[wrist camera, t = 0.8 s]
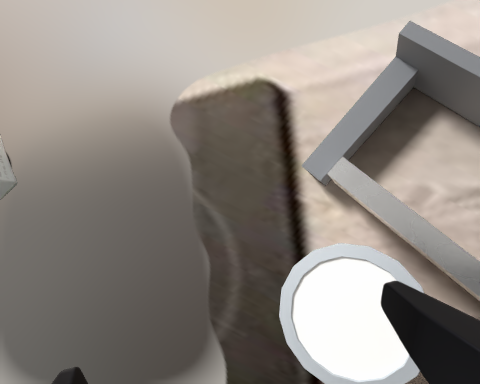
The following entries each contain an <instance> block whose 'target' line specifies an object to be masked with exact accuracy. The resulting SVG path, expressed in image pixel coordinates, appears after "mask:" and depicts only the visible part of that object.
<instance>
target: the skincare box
mask: <svg viewBox="0 0 480 384" xmlns="http://www.w3.org/2000/svg"><path fill="white" fill-rule="evenodd" d="M16 184H17V180H16V178H15V176H14V173H13V171H12V168H11V165H10V163H9V160H8V157H7V155H6V152H5V149H4V145H3V142H2V138H1V135H0V200H1V199H2V198H3V197H4V196H5V195H6V194H8V193H9V192H10V191H11V190H12V189H13V188H14V187H15V185H16Z"/></svg>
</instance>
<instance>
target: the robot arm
mask: <svg viewBox="0 0 480 384" xmlns="http://www.w3.org/2000/svg"><path fill="white" fill-rule="evenodd" d="M381 307H382V309H383V311H384V313H385V315H386V316H387V318H388V320H389V322H390V323H391V325H392V327H393V329H394V330H395V332H396V334H397V335H398V337H399V339H400V341H401V342H402V344H403V346H404V347H405V349H406V351H407V352H408V354H409V356H410V357H411V359H412V360H413V361H414V363H415V364H416V366H417V367H418V369H419V370H420V371H421V373H422V374H423V376H424V377H425V378H426V380H427V381H428V383H429V384H480V320H478V319H476V318H474V317H471V316H469V315H467V314H465V313H463V312H461V311H459V310H457V309H455V308H453V307H451V306H449V305H447V304H445V303H443V302H441V301H439V300H437V299H435V298H433V297H430V296H428V295H426V294H424V293H422V292H420V291H418V290H416V289H414V288H412V287H410V286H408V285H406V284H404V283H402V282H400V281H391V282H387V283H385V284H384V285H383V290H382V296H381ZM52 384H88V382H87V381H86V379H85V377H84V375H83V373H82V371H81V369H80V368H79V367H73V368H69V369H65V370H63V371H61V372H60V373H59V374H58V375H57V377H56V378H55V380H54V381H53V383H52Z"/></svg>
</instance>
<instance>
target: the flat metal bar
mask: <svg viewBox="0 0 480 384" xmlns="http://www.w3.org/2000/svg"><path fill="white" fill-rule="evenodd" d="M327 174H328V175H329V177H330V178H331V179H332V180H333V182H334V183H335V184H336V185H337V186H338V187H340V188H341V189H342V190H343V191H345V192H346V193H347V194H348V195H349V196H351V197H352V198H353V199H354V200H356V201H357V202H358V203H359V204H361V205H362V206H363V207H364V208H365V209H367V210H368V211H369V212H370V213H372V214H373V215H374V216H375V217H377V218H378V219H379V220H380V221H381V222H383V223H384V224H385V225H386V226H388V227H389V228H390V229H391V230H393V231H394V232H395V233H396V234H397V235H399V236H400V237H401V238H402V239H404V240H405V241H406V242H407V243H408V244H410V245H411V246H412V247H413V248H415V249H416V250H417V251H418V252H420V253H421V254H422V255H423V256H424V257H426V258H427V259H428V260H429V261H431V262H432V263H433V264H434V265H436V266H437V267H438V268H439V269H440V270H442V271H443V272H444V273H445V274H447V275H448V276H449V277H450V278H452V279H453V280H454V281H455V282H456V283H458V284H459V285H460V286H461V287H463V288H464V289H465V290H466V291H467V292H469V293H470V294H471V295H472V296H474V297H475V298H476V299H477V300H479V301H480V261H478V260H477V259H476V258H474V257H473V256H472V255H471V254H469V253H468V252H467V251H465V250H464V249H463V248H461V247H460V246H459V245H457V244H456V243H455V242H454V241H452V240H451V239H450V238H448V237H447V236H446V235H444V234H443V233H442V232H440V231H439V230H438V229H437V228H435V227H434V226H433V225H431V224H430V223H429V222H427V221H426V220H425V219H424V218H422V217H421V216H420V215H418V214H417V213H416V212H414V211H413V210H412V209H410V208H409V207H408V206H407V205H405V204H404V203H403V202H401V201H400V200H399V199H397V198H396V197H395V196H393V195H392V194H391V193H390V192H388V191H387V190H386V189H384V188H383V187H382V186H380V185H379V184H378V183H376V182H375V181H374V180H373V179H371V178H370V177H369V176H367V175H366V174H365V173H363V172H362V171H361V170H359V169H358V168H357V167H356V166H354V165H353V164H352V163H350V162H349V161H348V160H346V159H345V158H344V157H343V156H342V157H341V159H340V160H339V161H338V162H337V163H336V164H335V165H334V167H333V168H332V169H331V170H330V171H329V172H328V173H327Z"/></svg>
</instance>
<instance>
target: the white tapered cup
mask: <svg viewBox="0 0 480 384" xmlns="http://www.w3.org/2000/svg"><path fill="white" fill-rule="evenodd" d="M391 281H400V282H402V283H404V284H406V285H408V286H410V287H412V288H414V289H416V290H418V291H420V292H422V293H424V292H423V289H422V287H421V285H420V284H419V283H418V282H417V281H416V280H415V279H414V278H413V277H412V276H411V274H410V273H409V272H408V271H407V270H406V269H405V268H404V267H403V266H402V265H401V264H400V262H399V261H397V260H395V259H393V258H391V257H389V256H387V255H385V254H383V253H381V252H379V251H377V250H375V249H374V248H372V247H369V246H361V245H352V244H344V243H338V244H335V245H331V246H328V247H324V248H320V249H317V250H313V251H312V252H311V253H310V254H308V255H307V256H306V257H305V258H303V259H302V260H301V261H300V262H298V263H297V264H296V265H295V266H293V268H292V270H291V272H290V274H289V276H288V278H287V280H286V282H285V284H284V286H283V287H282V290H281V302H280V313H279V317H280V320H281V324H282V327H283V331H284V334H285V338H286V342H287V344H288V346H289V347H290V348H291V350H292V351H293V353H294V354H295V356H296V357H297V358H298V360H299V361H300V363H301V364H302V366H303V367H304V368H305V369H306V370H307V371H309V372H310V373H312V374H313V375H314V376H316V377H317V378H318V379H320V380H321V381H322V382H324V383H325V384H405V383H407V382H408V381H410V380H412V379H413V378H415V377H416V376H417V375H418V373H419V371H420V370H419V369H418V367H417V366H416V364H415V363H414V361H413V360H412V359H411V357H410V356H409V354H408V352H407V351H406V349H405V347H404V346H403V344H402V342H401V341H400V339H399V337H398V335H397V334H396V332H395V330H394V329H393V327H392V325H391V323H390V322H389V320H388V318H387V316H386V315H385V313H384V311H383V309H382V307H381V296H382V290H383V285H384V284H385V283H387V282H391Z"/></svg>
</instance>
